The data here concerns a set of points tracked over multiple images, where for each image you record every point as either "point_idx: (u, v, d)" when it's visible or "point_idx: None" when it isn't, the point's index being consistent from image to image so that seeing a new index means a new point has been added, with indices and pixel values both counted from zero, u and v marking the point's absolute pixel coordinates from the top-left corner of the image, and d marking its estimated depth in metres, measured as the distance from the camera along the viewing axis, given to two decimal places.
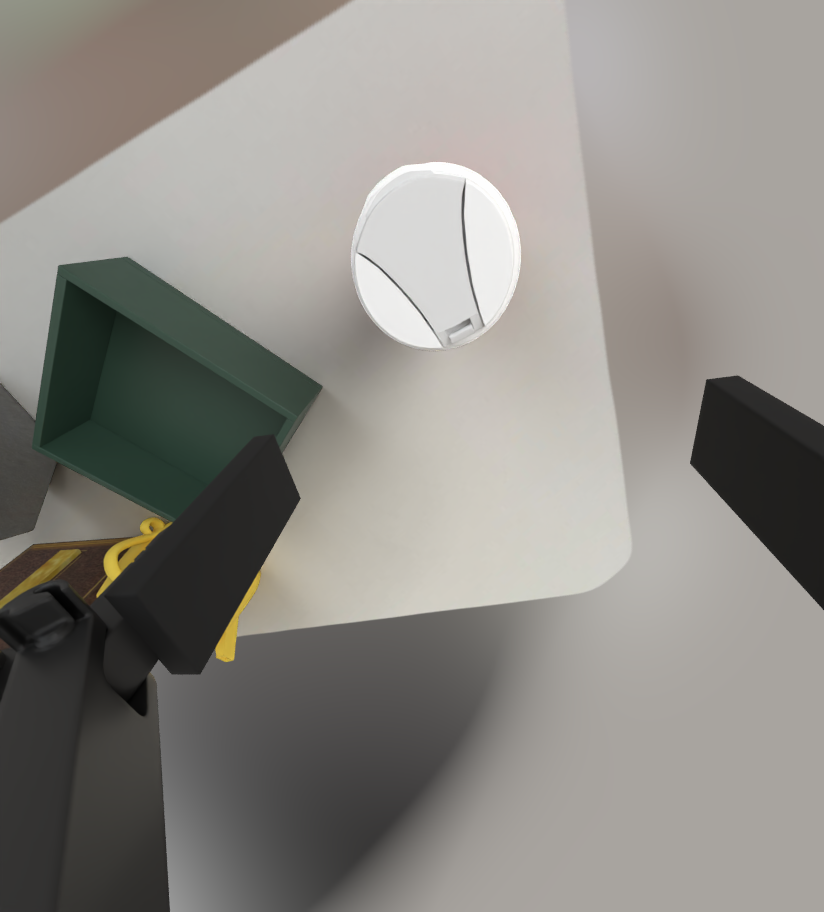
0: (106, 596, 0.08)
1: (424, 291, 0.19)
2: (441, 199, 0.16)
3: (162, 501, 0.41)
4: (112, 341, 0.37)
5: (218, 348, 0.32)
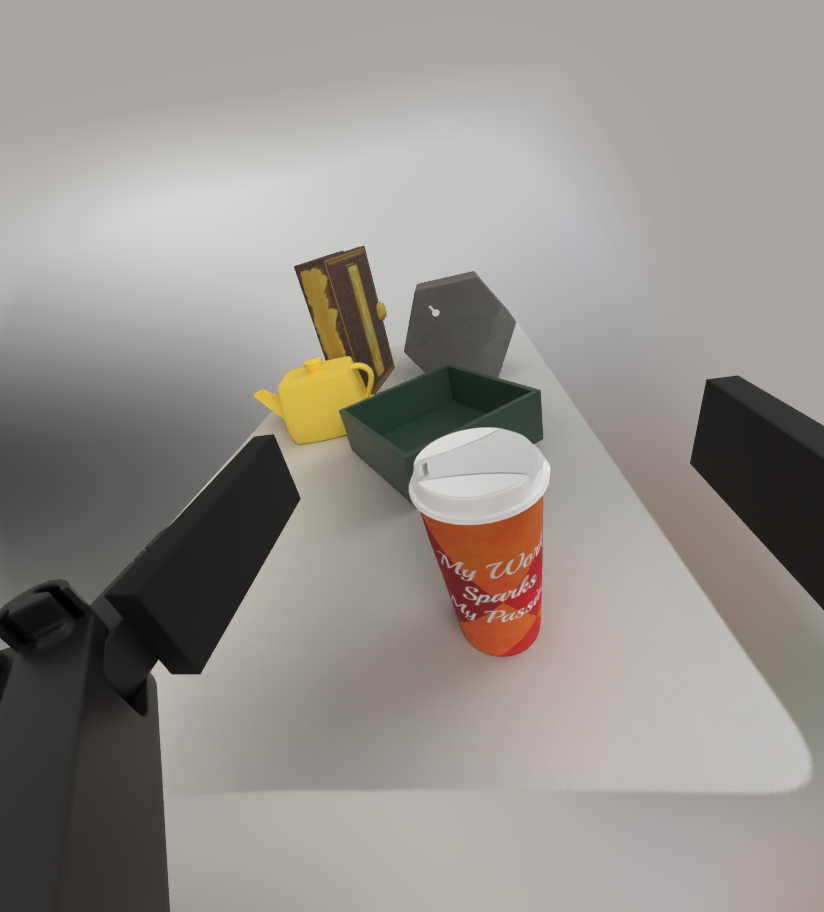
0: (105, 596, 0.08)
1: (460, 455, 0.23)
2: (519, 463, 0.21)
3: (387, 399, 0.58)
4: None
5: None
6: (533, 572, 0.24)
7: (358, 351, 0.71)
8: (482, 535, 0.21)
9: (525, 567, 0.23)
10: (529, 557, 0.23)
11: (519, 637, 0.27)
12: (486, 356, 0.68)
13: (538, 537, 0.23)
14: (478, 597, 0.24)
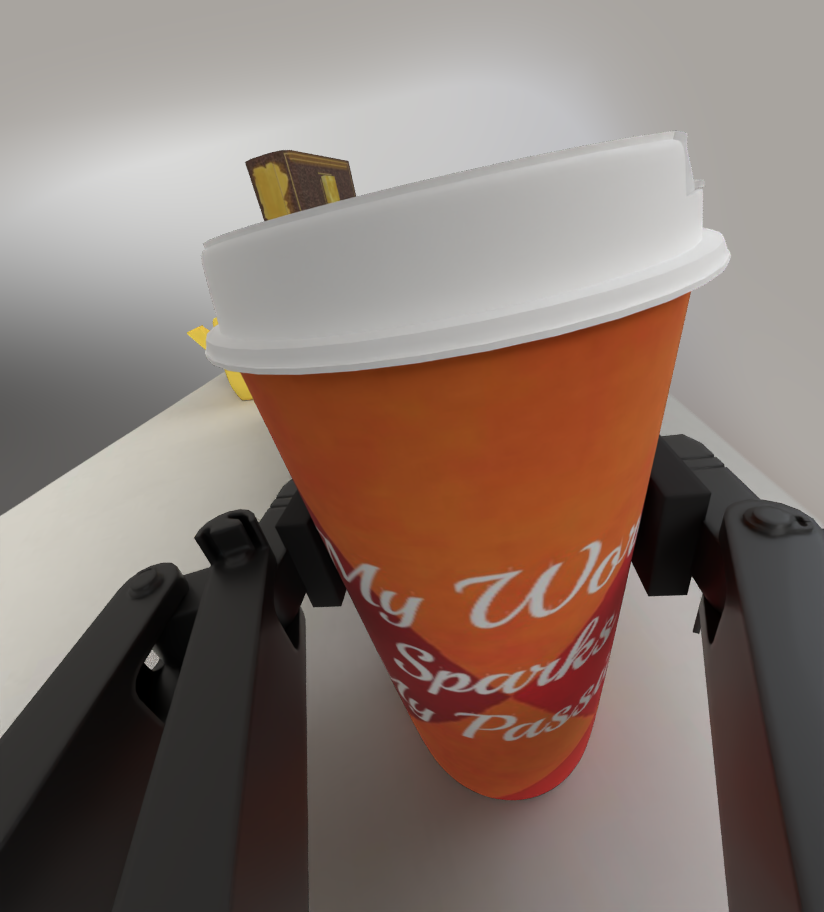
0: (276, 527, 0.09)
1: None
2: None
3: None
4: None
5: None
6: (612, 609, 0.08)
7: None
8: (435, 444, 0.05)
9: (593, 593, 0.07)
10: (612, 560, 0.07)
11: (547, 768, 0.10)
12: None
13: (644, 492, 0.07)
14: (436, 677, 0.08)
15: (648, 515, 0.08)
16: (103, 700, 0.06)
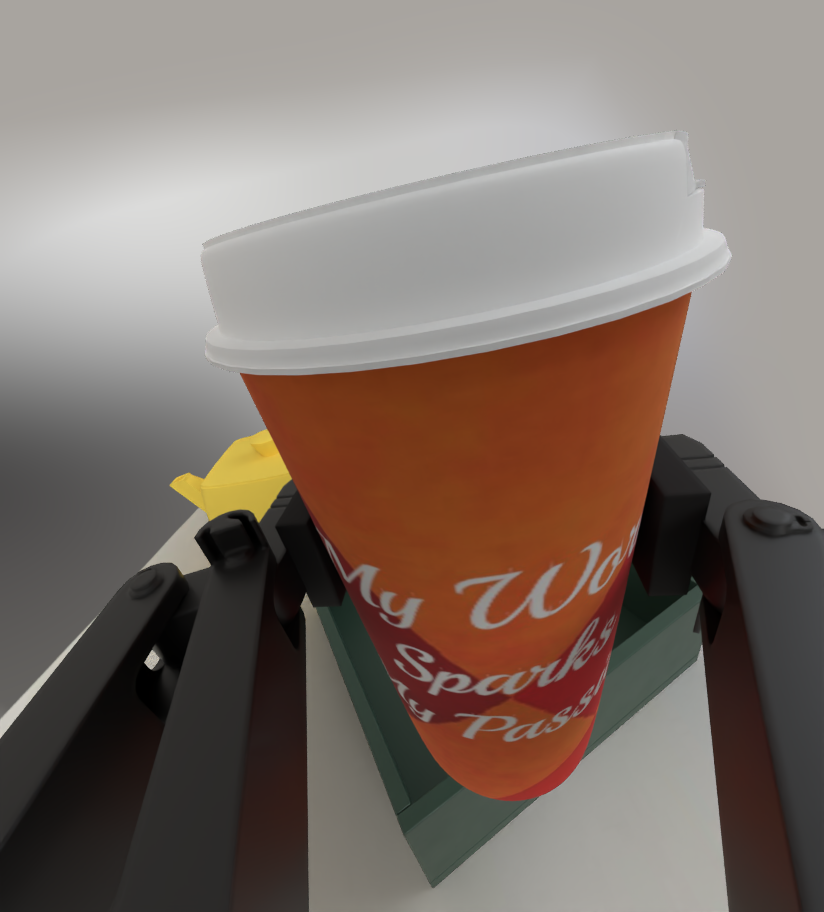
0: (276, 527, 0.09)
1: None
2: None
3: None
4: None
5: None
6: (612, 610, 0.08)
7: None
8: (435, 446, 0.05)
9: (594, 593, 0.07)
10: (613, 561, 0.07)
11: (548, 769, 0.10)
12: None
13: (645, 493, 0.07)
14: (436, 677, 0.08)
15: (648, 515, 0.08)
16: (103, 700, 0.06)
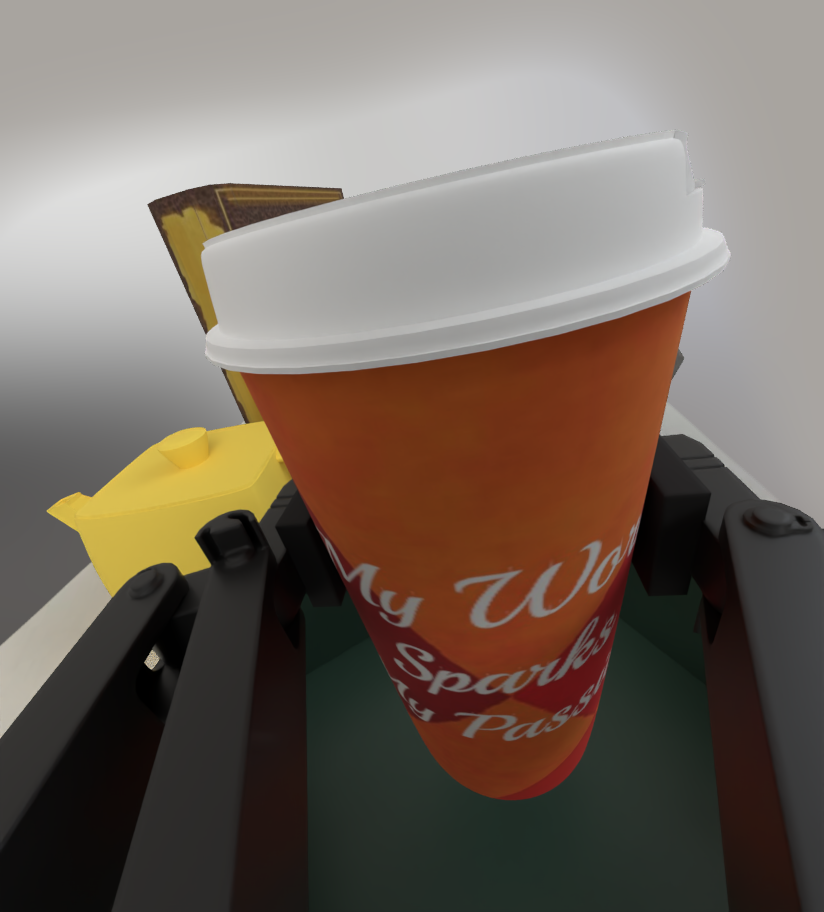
0: (276, 526, 0.09)
1: None
2: None
3: None
4: (683, 674, 0.18)
5: None
6: (612, 609, 0.08)
7: None
8: (435, 444, 0.05)
9: (594, 592, 0.07)
10: (612, 561, 0.07)
11: (547, 768, 0.10)
12: None
13: (644, 492, 0.07)
14: (436, 677, 0.08)
15: (648, 515, 0.08)
16: (103, 700, 0.06)
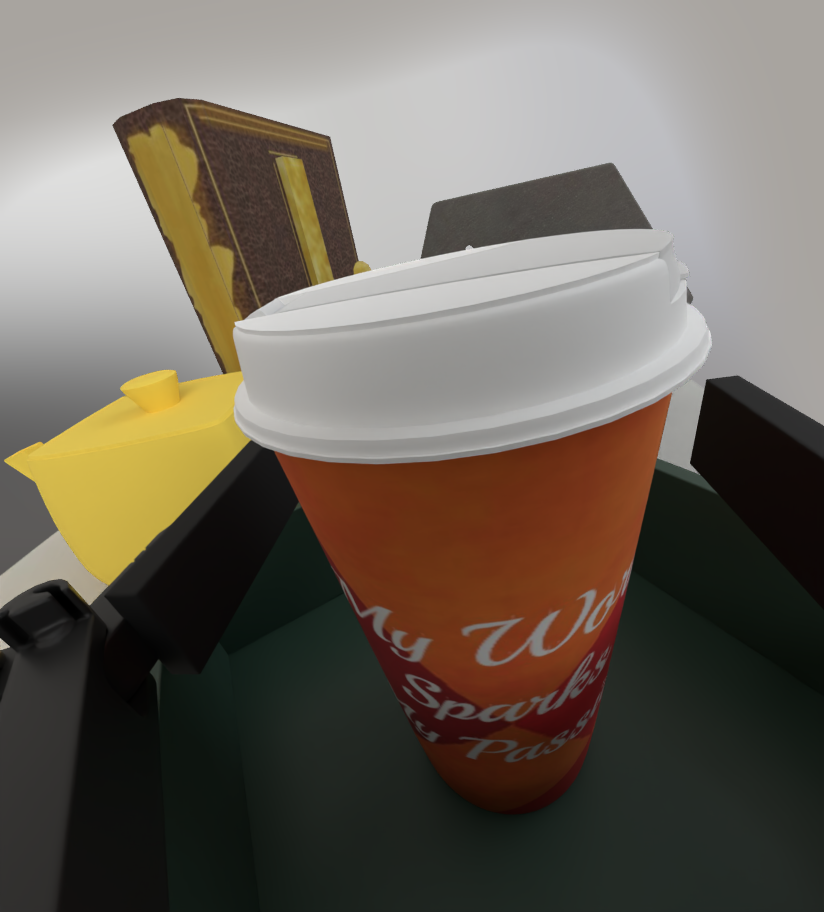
0: (105, 596, 0.08)
1: None
2: (607, 247, 0.05)
3: None
4: (696, 618, 0.16)
5: None
6: (607, 643, 0.08)
7: None
8: (446, 516, 0.05)
9: (589, 632, 0.07)
10: (607, 603, 0.07)
11: (546, 785, 0.11)
12: None
13: (636, 540, 0.07)
14: (442, 705, 0.08)
15: None
16: None
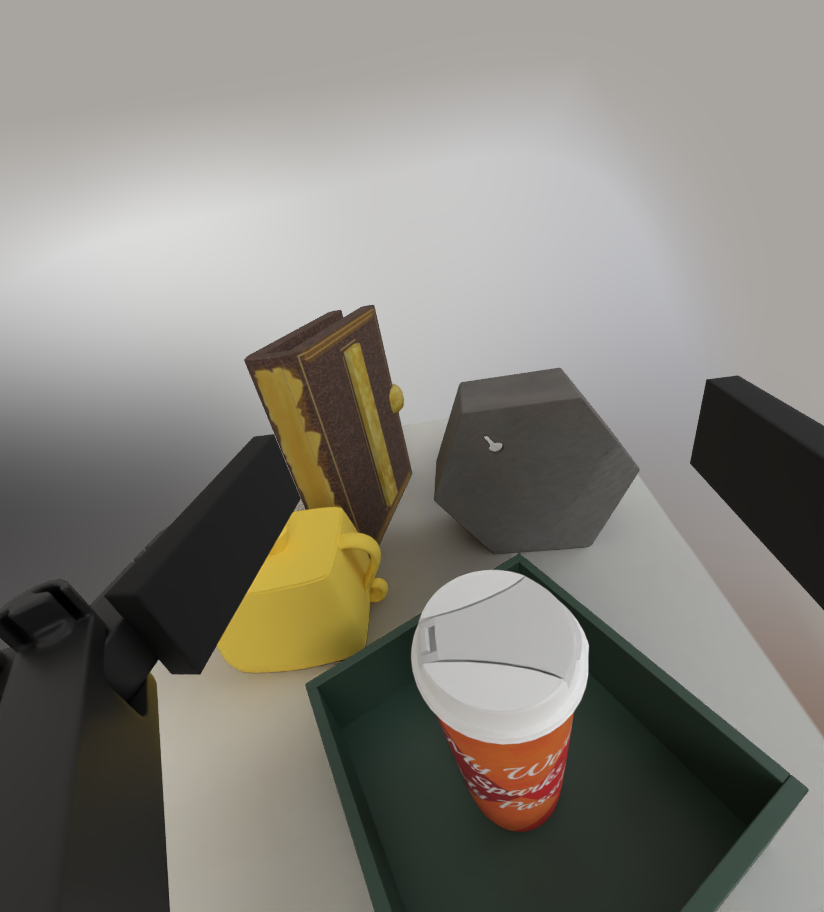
0: (105, 596, 0.08)
1: (476, 618, 0.19)
2: (552, 653, 0.17)
3: (404, 643, 0.30)
4: (626, 713, 0.27)
5: None
6: (560, 762, 0.19)
7: (357, 488, 0.43)
8: (502, 746, 0.16)
9: (551, 764, 0.18)
10: (558, 754, 0.18)
11: (537, 818, 0.22)
12: (576, 515, 0.39)
13: (569, 728, 0.18)
14: (491, 788, 0.20)
15: None
16: None
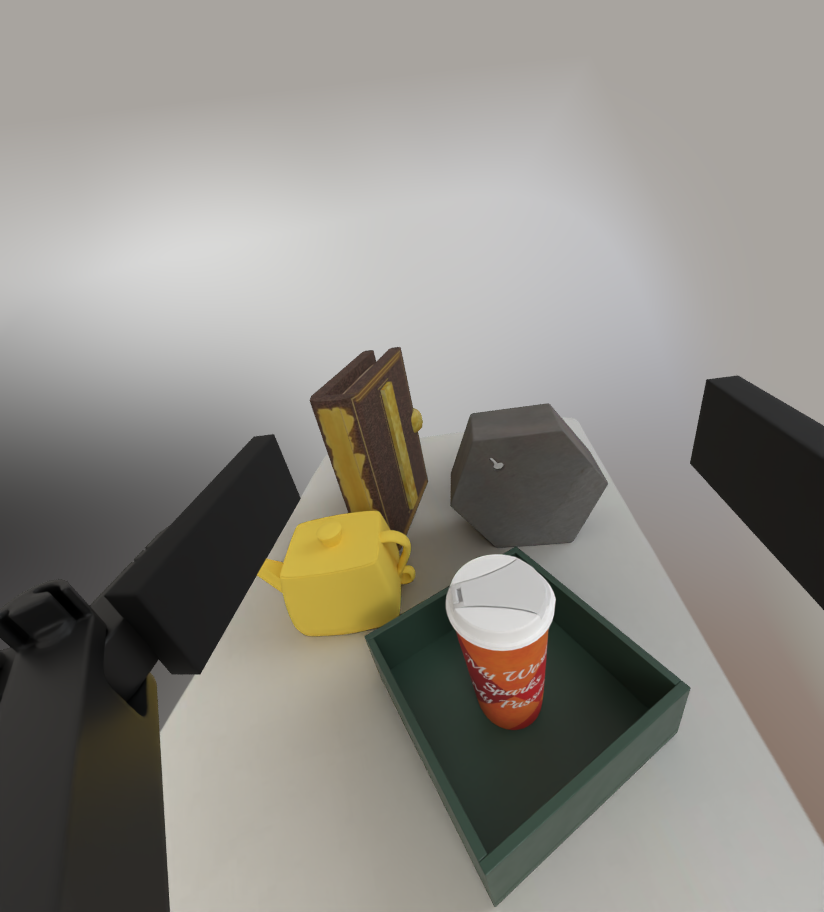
0: (105, 596, 0.08)
1: (486, 583, 0.31)
2: (532, 601, 0.28)
3: (432, 610, 0.41)
4: (590, 657, 0.39)
5: (585, 798, 0.27)
6: (539, 674, 0.31)
7: (389, 495, 0.54)
8: (502, 655, 0.28)
9: (532, 672, 0.30)
10: (536, 666, 0.30)
11: (525, 717, 0.34)
12: (560, 517, 0.51)
13: (544, 650, 0.30)
14: (495, 691, 0.31)
15: None
16: None
